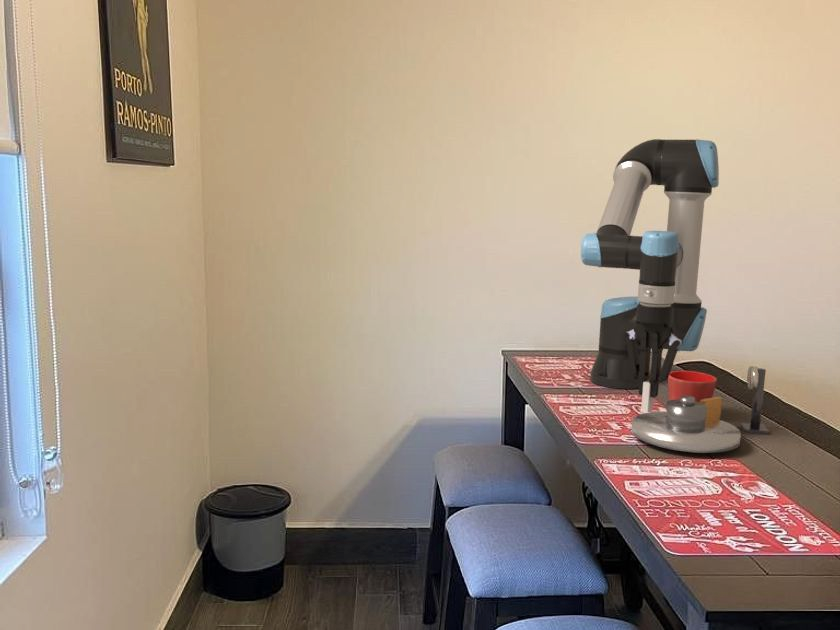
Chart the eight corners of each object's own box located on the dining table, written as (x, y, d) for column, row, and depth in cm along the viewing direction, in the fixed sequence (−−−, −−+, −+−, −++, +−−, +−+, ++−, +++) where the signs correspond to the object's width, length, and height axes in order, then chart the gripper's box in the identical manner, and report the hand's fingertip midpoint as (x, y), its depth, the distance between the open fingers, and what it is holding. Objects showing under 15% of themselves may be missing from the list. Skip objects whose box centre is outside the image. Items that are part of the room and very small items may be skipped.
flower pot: (716, 424, 190) (720, 383, 188) (666, 420, 192) (670, 379, 190) (709, 412, 200) (713, 372, 199) (662, 408, 202) (665, 369, 201)
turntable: (609, 429, 180) (612, 397, 179) (676, 415, 192) (678, 385, 191) (694, 459, 162) (698, 424, 161) (761, 442, 174) (765, 409, 173)
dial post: (740, 426, 189) (746, 363, 187) (763, 427, 188) (770, 365, 186) (745, 432, 184) (751, 368, 182) (769, 434, 184) (775, 370, 181)
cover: (657, 425, 177) (659, 395, 176) (682, 419, 181) (684, 390, 180) (687, 435, 171) (690, 404, 169) (713, 429, 175) (715, 399, 174)
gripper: (619, 302, 179) (611, 408, 183) (678, 309, 171) (668, 420, 175) (634, 298, 185) (626, 401, 189) (691, 305, 177) (682, 412, 181)
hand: (646, 410), depth 182 cm, fingers closed
